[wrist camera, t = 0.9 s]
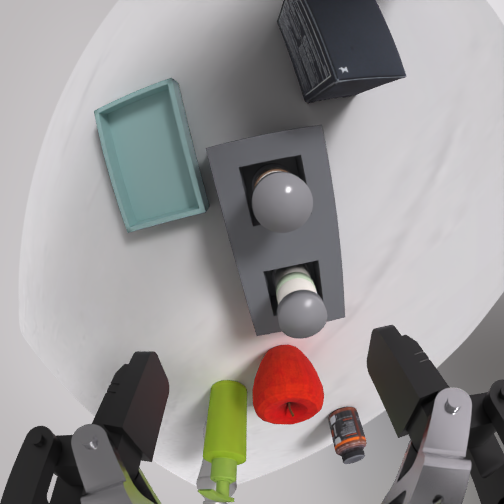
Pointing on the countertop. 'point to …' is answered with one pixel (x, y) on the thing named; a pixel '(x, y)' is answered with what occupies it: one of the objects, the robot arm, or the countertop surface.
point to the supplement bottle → (347, 434)
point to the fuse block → (283, 244)
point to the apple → (286, 387)
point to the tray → (151, 156)
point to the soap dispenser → (225, 437)
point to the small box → (339, 47)
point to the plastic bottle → (206, 482)
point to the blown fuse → (280, 199)
